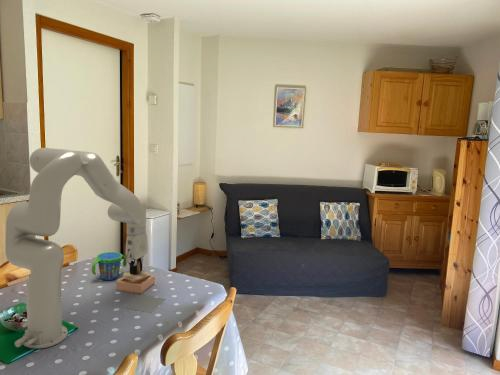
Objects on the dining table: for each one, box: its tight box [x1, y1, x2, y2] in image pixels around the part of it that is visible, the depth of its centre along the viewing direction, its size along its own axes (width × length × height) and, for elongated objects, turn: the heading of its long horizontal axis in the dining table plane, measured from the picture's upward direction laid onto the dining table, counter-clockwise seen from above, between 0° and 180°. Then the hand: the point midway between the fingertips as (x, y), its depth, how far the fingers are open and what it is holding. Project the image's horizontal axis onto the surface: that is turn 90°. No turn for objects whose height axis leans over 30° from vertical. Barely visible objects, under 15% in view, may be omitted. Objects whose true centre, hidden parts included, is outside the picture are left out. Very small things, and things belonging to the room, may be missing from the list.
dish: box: [115, 273, 156, 295], centre depth 158 cm, size 11×11×4 cm
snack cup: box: [91, 251, 128, 281], centre depth 167 cm, size 16×10×10 cm
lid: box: [123, 261, 149, 280], centre depth 157 cm, size 10×10×6 cm
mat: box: [122, 294, 167, 314], centre depth 145 cm, size 12×12×1 cm
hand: (136, 272), depth 158 cm, fingers closed on lid, 3 cm apart
